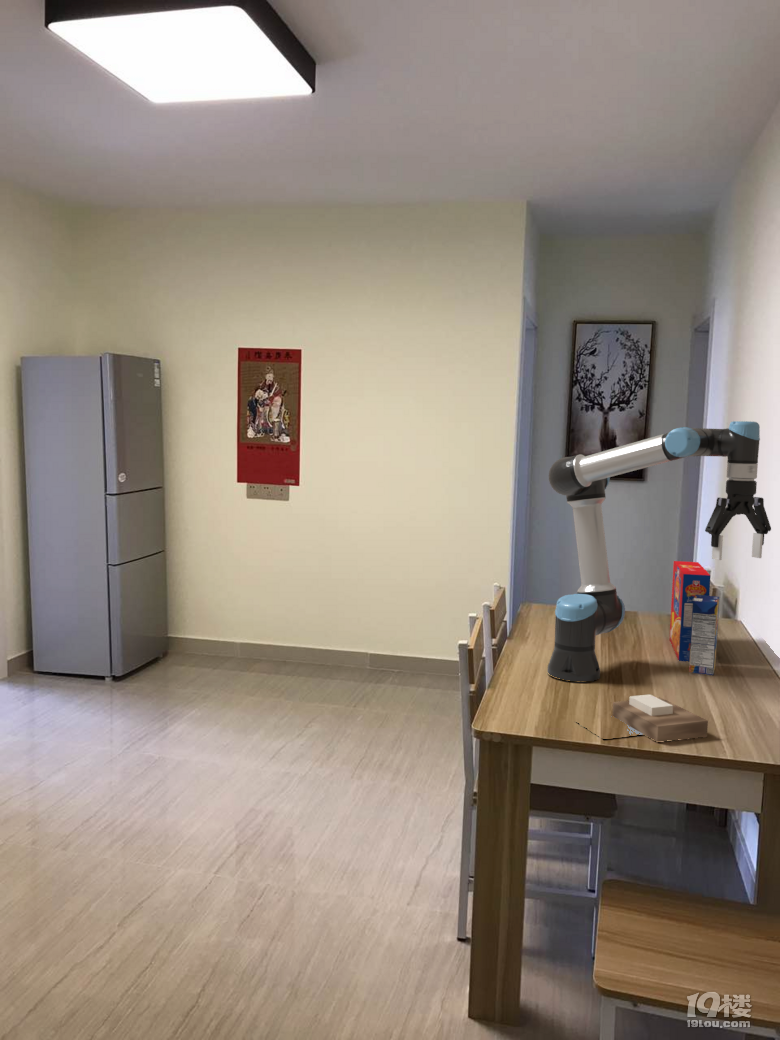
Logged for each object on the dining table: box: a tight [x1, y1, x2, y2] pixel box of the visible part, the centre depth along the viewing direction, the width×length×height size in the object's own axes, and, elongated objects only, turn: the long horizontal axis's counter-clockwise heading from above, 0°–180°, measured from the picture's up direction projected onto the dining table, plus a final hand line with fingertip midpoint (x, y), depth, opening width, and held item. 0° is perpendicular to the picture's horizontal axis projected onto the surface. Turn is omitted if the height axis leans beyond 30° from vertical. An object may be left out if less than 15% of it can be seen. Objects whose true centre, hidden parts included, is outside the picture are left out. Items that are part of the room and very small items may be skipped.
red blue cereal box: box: [668, 560, 711, 663], centre depth 274 cm, size 28×8×28 cm, turn 167°
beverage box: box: [688, 595, 720, 676], centre depth 252 cm, size 7×11×22 cm, turn 156°
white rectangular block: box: [628, 693, 673, 716], centre depth 203 cm, size 9×6×2 cm, turn 19°
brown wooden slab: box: [612, 696, 709, 741], centre depth 202 cm, size 18×14×4 cm
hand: (736, 558), depth 223 cm, fingers open, 13 cm apart
